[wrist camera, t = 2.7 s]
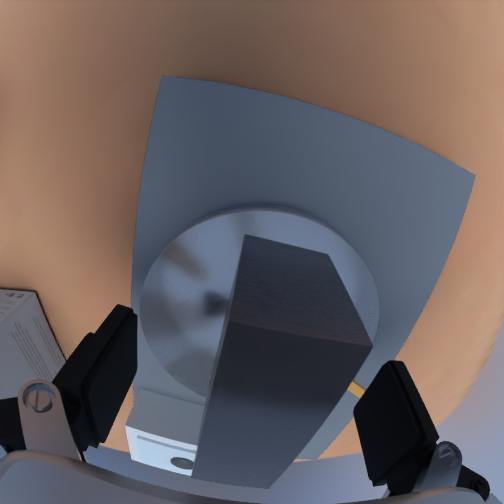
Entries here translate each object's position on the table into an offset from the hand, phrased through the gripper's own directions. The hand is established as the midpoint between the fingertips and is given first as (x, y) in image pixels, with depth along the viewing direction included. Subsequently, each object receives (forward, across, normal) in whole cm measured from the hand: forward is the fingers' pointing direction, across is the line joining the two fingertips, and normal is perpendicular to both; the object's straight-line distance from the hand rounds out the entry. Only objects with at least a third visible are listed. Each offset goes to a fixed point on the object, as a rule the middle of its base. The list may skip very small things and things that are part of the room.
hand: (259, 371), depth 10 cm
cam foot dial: (+3, 0, 0) cm, 3 cm away
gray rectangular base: (+5, -1, +2) cm, 6 cm away
